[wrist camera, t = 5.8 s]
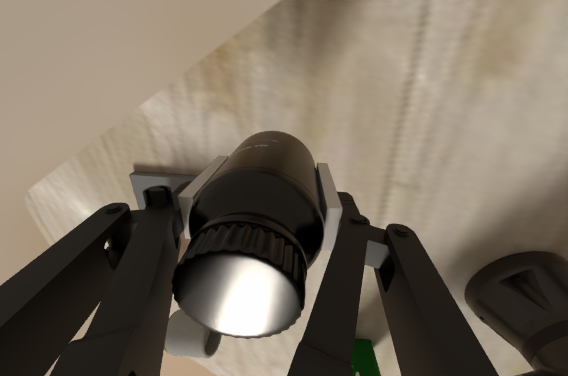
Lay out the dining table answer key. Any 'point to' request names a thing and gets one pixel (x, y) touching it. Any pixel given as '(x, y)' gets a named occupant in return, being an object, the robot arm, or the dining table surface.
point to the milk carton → (364, 359)
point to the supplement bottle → (252, 240)
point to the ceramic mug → (189, 337)
